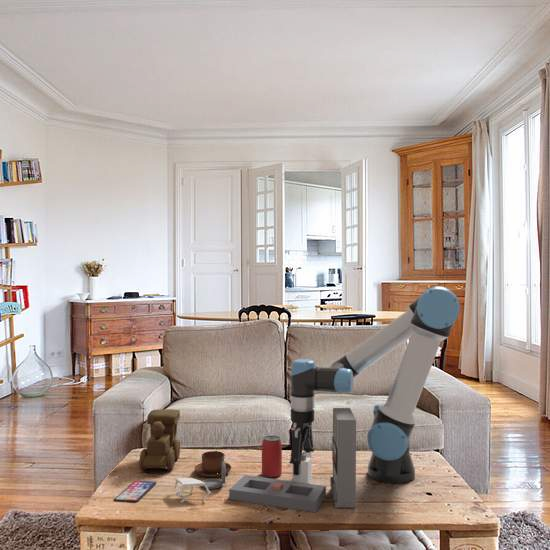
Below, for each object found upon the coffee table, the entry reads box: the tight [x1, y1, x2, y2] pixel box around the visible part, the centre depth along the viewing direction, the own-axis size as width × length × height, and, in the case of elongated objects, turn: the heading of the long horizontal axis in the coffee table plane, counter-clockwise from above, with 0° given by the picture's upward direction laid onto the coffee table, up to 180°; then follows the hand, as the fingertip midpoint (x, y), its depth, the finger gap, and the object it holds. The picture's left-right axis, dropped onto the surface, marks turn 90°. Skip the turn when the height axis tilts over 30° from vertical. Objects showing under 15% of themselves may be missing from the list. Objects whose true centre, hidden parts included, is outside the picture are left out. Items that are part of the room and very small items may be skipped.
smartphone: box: [113, 480, 157, 504], centre depth 170 cm, size 8×1×15 cm
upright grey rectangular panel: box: [329, 407, 357, 509], centre depth 165 cm, size 14×6×25 cm, turn 0°
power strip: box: [228, 474, 327, 513], centre depth 166 cm, size 26×12×4 cm, turn 71°
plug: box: [301, 452, 313, 484], centre depth 179 cm, size 5×4×8 cm
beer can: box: [261, 435, 283, 478], centre depth 184 cm, size 7×7×12 cm
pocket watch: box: [201, 452, 227, 490], centre depth 175 cm, size 8×8×10 cm
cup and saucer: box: [194, 450, 232, 478], centre depth 186 cm, size 12×12×6 cm
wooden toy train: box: [138, 408, 181, 472], centre depth 194 cm, size 20×11×17 cm, turn 0°
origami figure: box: [174, 477, 211, 503], centre depth 165 cm, size 12×8×5 cm
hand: (302, 478), depth 179 cm, fingers open, 10 cm apart
